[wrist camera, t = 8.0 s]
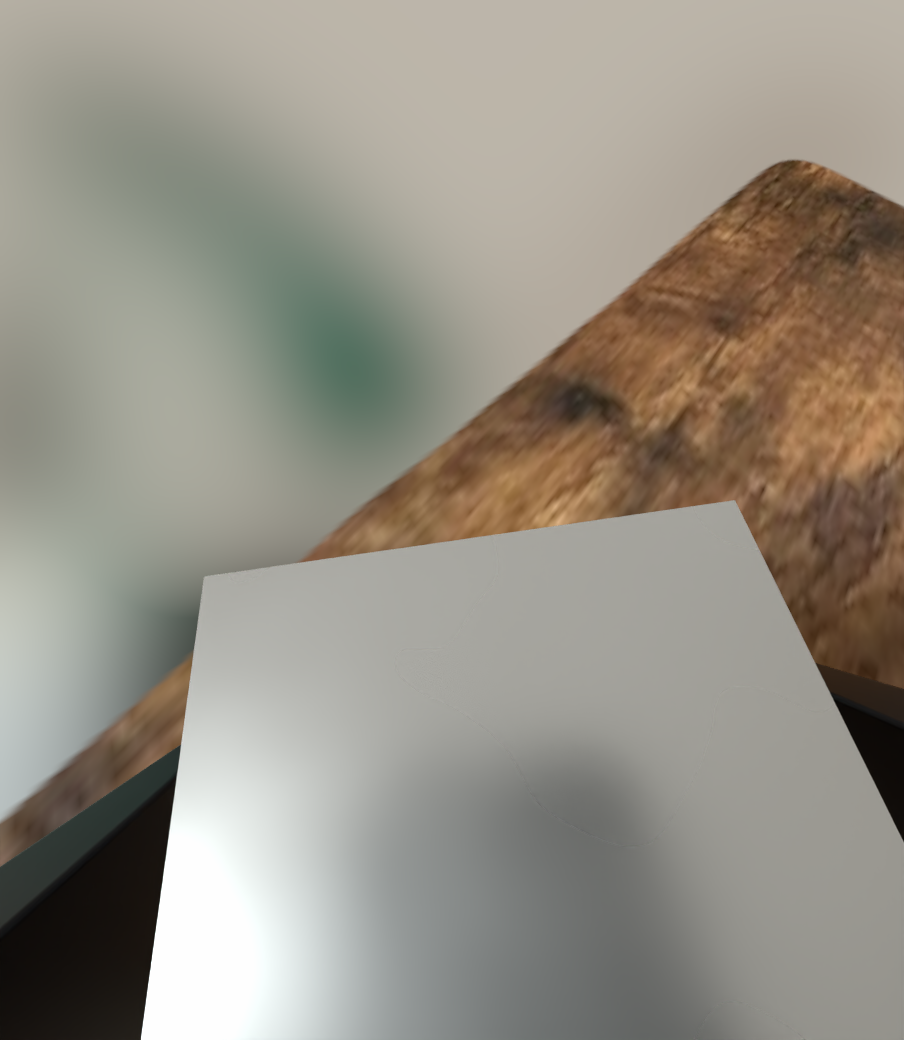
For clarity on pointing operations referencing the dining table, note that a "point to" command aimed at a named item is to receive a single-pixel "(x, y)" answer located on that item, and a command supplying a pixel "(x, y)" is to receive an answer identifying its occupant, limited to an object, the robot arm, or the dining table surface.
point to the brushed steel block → (523, 802)
